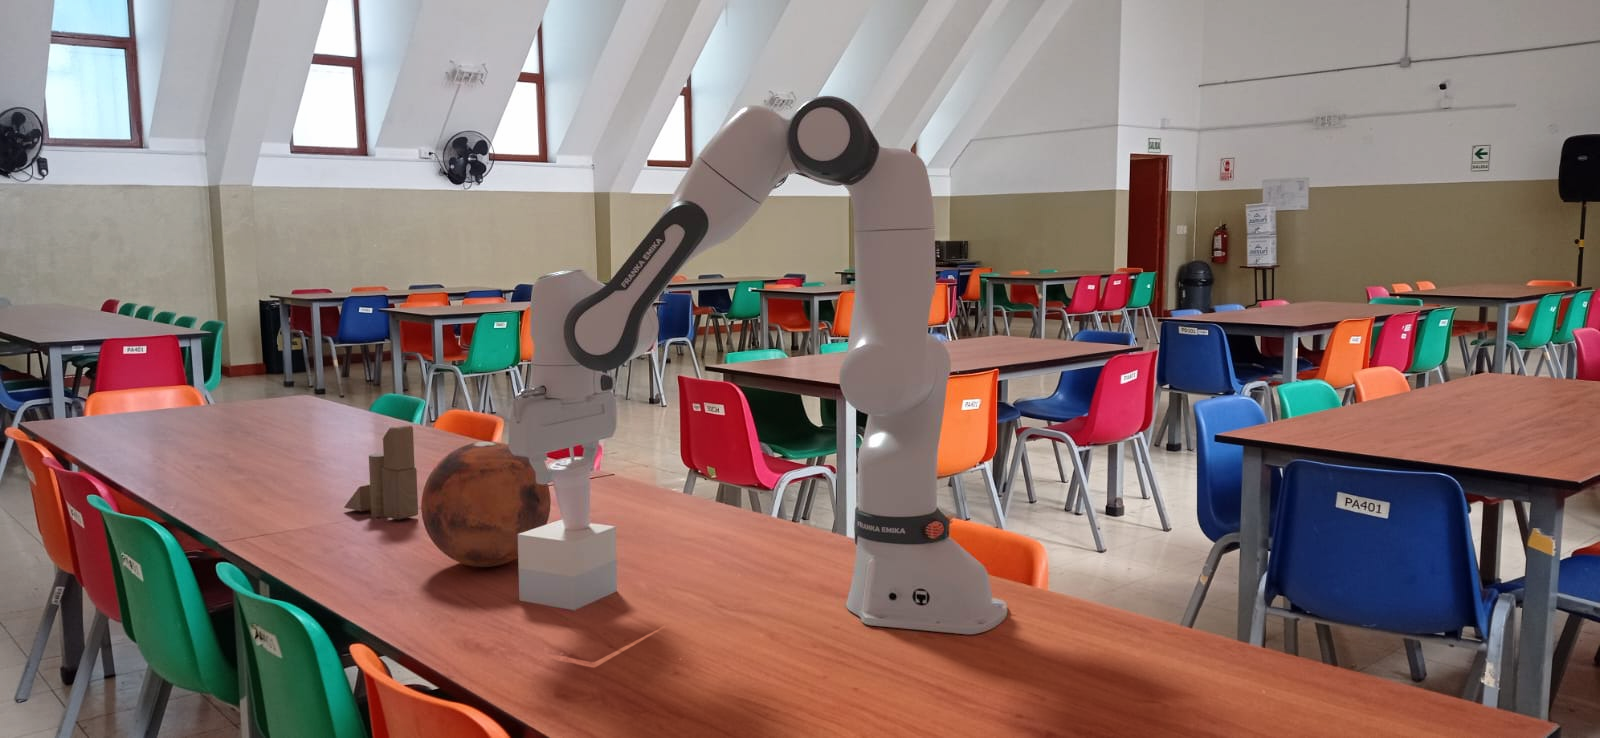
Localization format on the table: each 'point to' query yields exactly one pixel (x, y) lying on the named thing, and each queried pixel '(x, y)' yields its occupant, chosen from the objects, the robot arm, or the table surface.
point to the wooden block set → (390, 478)
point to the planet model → (483, 504)
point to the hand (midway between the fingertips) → (565, 477)
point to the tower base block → (567, 587)
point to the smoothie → (572, 489)
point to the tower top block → (566, 548)
